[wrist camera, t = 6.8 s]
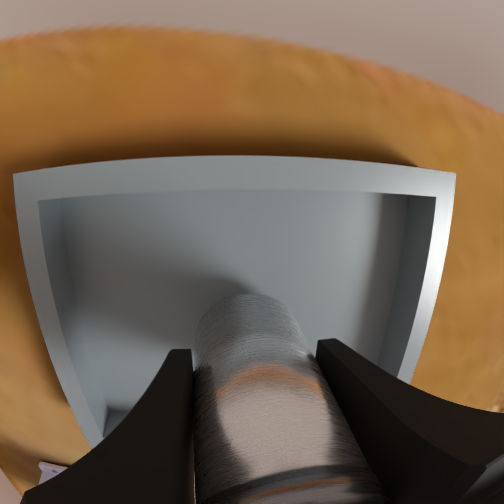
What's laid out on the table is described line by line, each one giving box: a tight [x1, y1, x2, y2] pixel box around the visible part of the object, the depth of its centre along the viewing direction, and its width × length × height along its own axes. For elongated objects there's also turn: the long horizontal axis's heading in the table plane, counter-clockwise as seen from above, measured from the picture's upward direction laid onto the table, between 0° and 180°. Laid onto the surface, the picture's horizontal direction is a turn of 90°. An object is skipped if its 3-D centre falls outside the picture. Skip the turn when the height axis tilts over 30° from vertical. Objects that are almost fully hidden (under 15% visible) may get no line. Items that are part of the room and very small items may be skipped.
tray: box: [13, 155, 456, 448], centre depth 12 cm, size 16×13×2 cm
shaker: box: [193, 293, 389, 504], centre depth 8 cm, size 4×4×8 cm
